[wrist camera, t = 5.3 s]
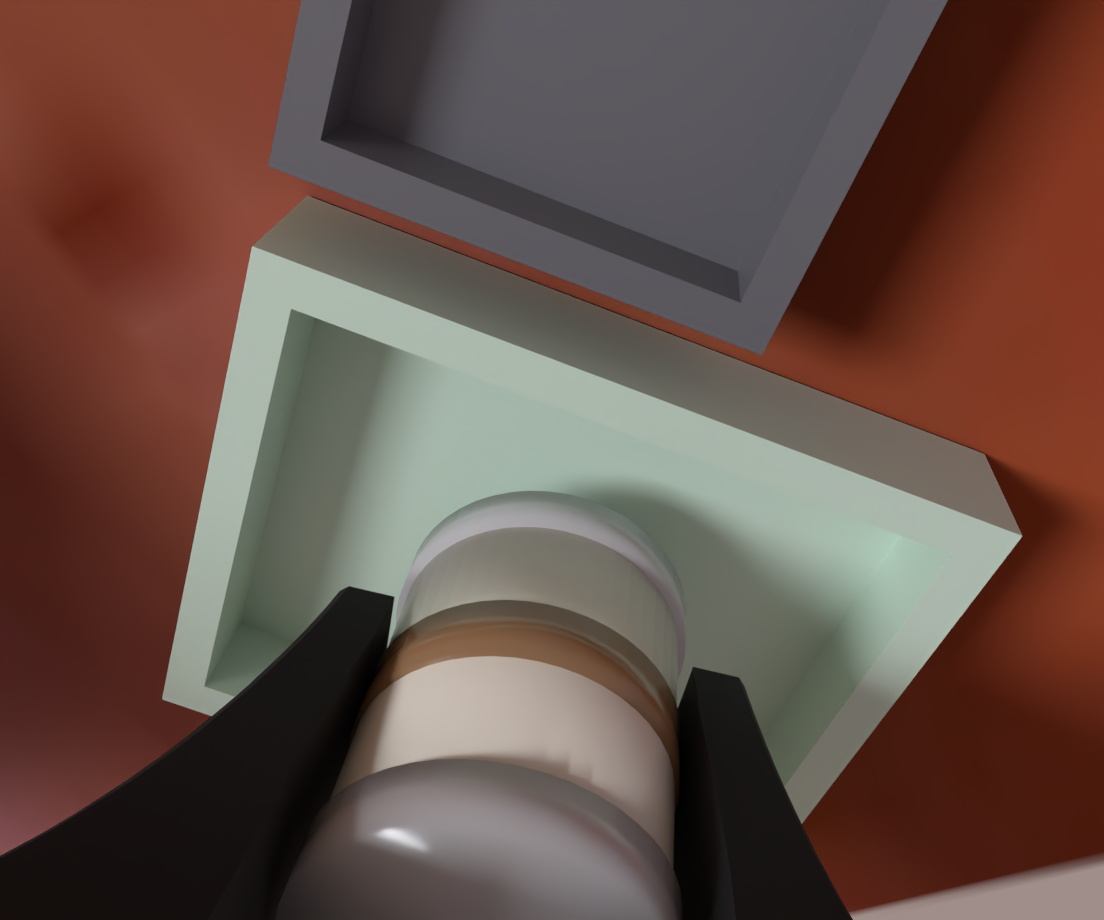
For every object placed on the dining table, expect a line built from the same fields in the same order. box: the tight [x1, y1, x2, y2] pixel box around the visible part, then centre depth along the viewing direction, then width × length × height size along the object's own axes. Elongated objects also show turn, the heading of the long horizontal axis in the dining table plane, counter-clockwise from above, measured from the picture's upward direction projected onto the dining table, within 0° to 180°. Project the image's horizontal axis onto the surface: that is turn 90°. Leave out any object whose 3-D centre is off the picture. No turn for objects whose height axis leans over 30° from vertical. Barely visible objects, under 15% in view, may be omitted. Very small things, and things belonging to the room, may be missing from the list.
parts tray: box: [162, 196, 1022, 824], centre depth 15 cm, size 10×8×2 cm
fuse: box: [276, 491, 686, 920], centre depth 12 cm, size 4×4×6 cm
